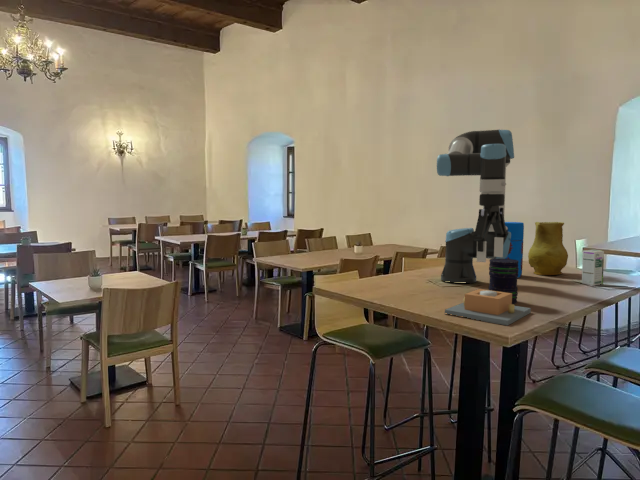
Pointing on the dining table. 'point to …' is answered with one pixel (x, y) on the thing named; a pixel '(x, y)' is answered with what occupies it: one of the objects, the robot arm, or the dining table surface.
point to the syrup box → (592, 267)
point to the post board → (503, 318)
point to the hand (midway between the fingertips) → (490, 259)
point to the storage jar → (504, 276)
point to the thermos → (516, 243)
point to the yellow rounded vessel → (548, 249)
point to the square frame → (487, 302)
